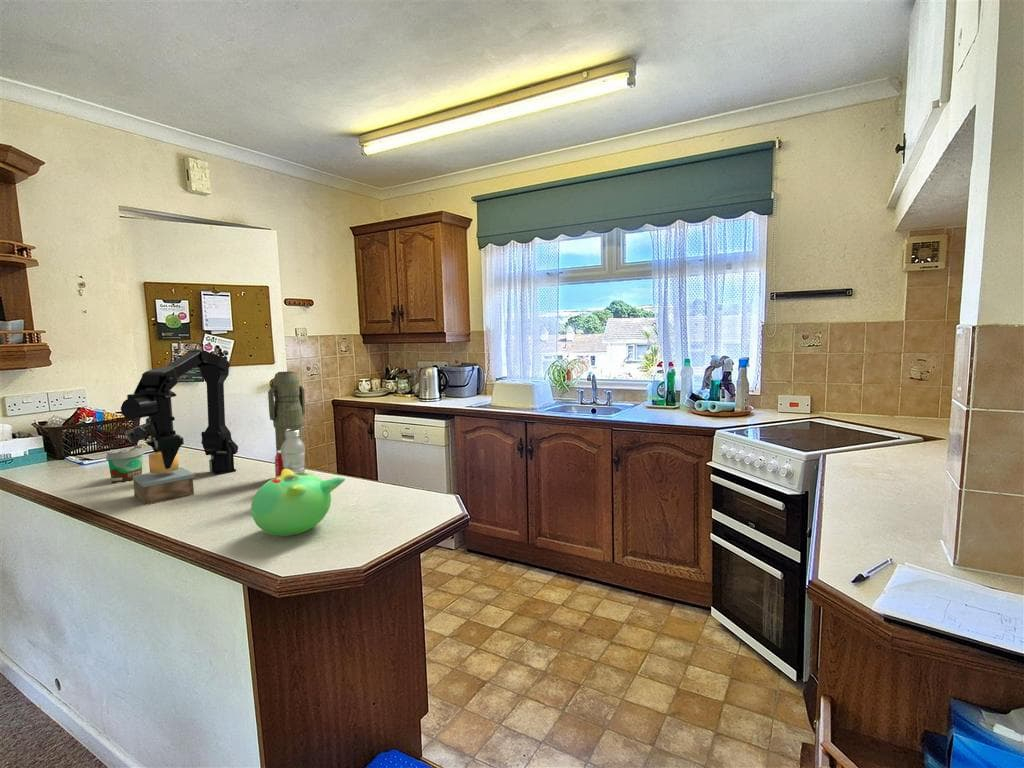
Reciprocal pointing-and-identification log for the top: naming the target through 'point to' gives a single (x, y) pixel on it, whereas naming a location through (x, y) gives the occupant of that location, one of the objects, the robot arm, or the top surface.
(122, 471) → the food container
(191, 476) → the lid
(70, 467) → the top surface
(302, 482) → the green toy creature
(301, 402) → the headless coat mannequin
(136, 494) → the walnut box
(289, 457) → the plastic bottle
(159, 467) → the short orange cylinder
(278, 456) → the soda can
